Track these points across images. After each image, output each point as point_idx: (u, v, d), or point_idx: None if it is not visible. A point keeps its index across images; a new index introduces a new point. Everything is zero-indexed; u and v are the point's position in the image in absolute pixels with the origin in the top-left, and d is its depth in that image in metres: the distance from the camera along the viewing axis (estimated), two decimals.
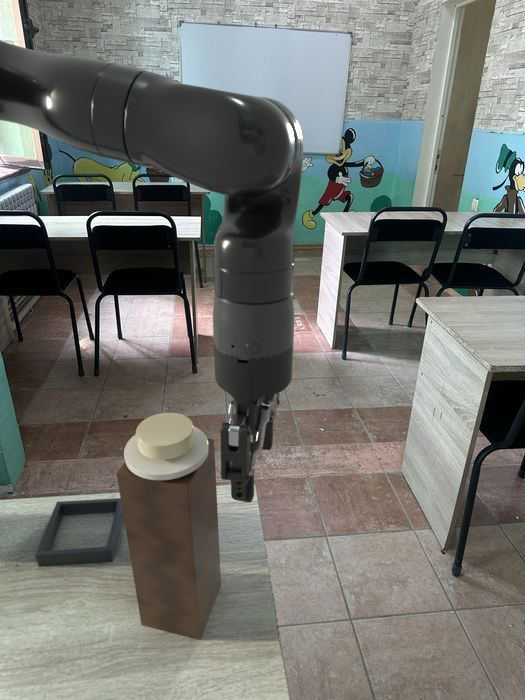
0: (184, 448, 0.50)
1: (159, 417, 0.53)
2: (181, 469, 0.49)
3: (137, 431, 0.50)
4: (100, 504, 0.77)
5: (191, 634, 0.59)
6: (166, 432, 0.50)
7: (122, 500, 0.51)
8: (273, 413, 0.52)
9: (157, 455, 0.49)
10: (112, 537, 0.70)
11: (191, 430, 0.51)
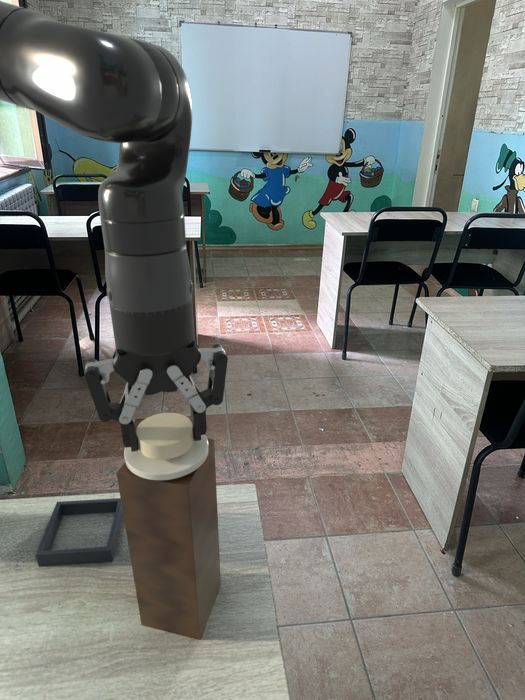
0: (184, 448, 0.50)
1: (159, 417, 0.53)
2: (181, 469, 0.49)
3: (137, 431, 0.50)
4: (100, 504, 0.77)
5: (191, 634, 0.59)
6: (166, 432, 0.50)
7: (122, 500, 0.51)
8: (183, 395, 0.48)
9: (157, 455, 0.49)
10: (112, 537, 0.70)
11: (191, 430, 0.51)
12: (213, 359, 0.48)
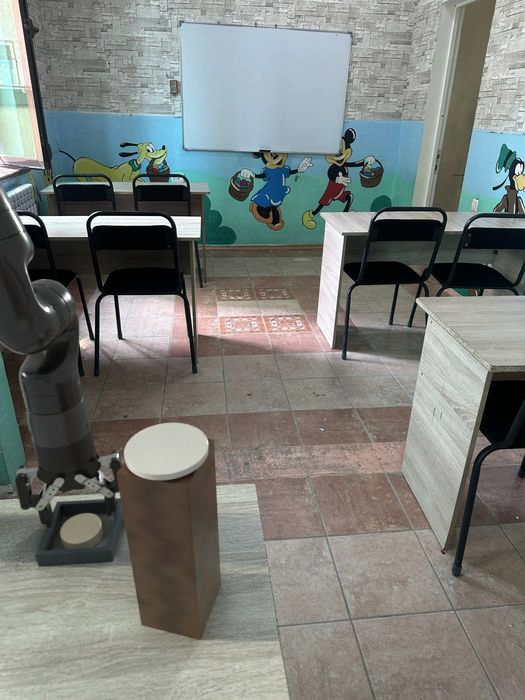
0: (93, 543, 0.72)
1: (79, 517, 0.75)
2: (181, 469, 0.49)
3: (61, 530, 0.72)
4: (100, 504, 0.77)
5: (191, 634, 0.59)
6: (81, 531, 0.72)
7: (122, 500, 0.51)
8: (93, 490, 0.69)
9: None
10: (112, 537, 0.70)
11: (99, 529, 0.72)
12: (110, 463, 0.69)
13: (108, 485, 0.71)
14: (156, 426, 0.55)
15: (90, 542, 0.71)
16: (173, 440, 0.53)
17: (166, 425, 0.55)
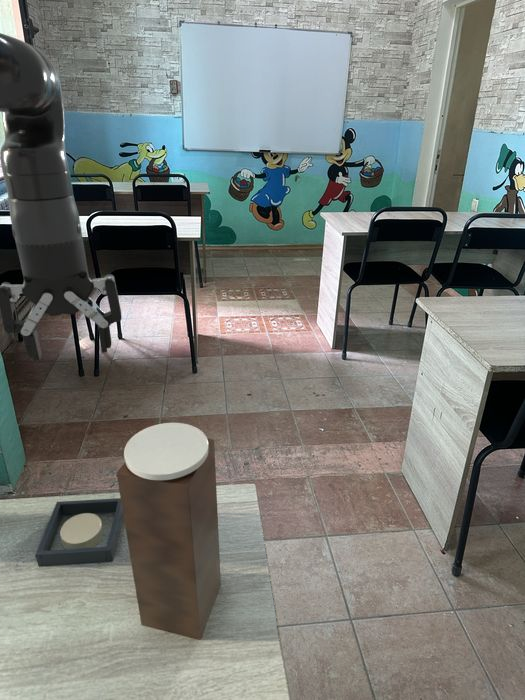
0: (93, 543, 0.72)
1: (79, 517, 0.75)
2: (181, 469, 0.49)
3: (61, 530, 0.72)
4: (100, 504, 0.77)
5: (191, 634, 0.59)
6: (81, 531, 0.72)
7: (122, 500, 0.51)
8: None
9: None
10: (112, 537, 0.70)
11: (99, 529, 0.72)
12: (104, 285, 0.62)
13: (102, 316, 0.64)
14: (156, 426, 0.55)
15: (90, 542, 0.71)
16: (173, 440, 0.53)
17: (166, 425, 0.55)
